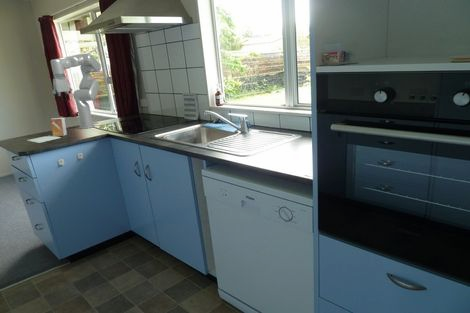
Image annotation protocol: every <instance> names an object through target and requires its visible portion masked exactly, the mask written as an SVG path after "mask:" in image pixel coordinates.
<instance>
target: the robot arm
mask: <svg viewBox="0 0 470 313" xmlns="http://www.w3.org/2000/svg"><path fill="white" fill-rule="evenodd" d="M50 66H51V70H52V74H53V79H52V86H53V90H52V94H54V95H55V96H57V100H58V102H60V103H61V102H63V99H62V95H61V93H65V98H66V100H67V101H70V99H71V97H70V94H71V93H72V92H73V94H72V96H73V99H74V101H75V105H76V109H77V113H78V117H79V119H78V120H79V123H80V126H79V127H78V128H79V129H84V130H85V129H92V128H95V127H96V124H98V123H99V121H98V120H96V121H94V120H93V117H92V112H91V107H90V104H89V102H90V101H91V102H92V101H95V99H96V98H97V95H98V93H99V91H100V84H99V81H98V80H96V79H94V78H93V75H91V73H98V72H100V71H101V70H102V66H101V63H100V62H99V61H98V60H97V58H95V56H93V55H92V54H90V53H79V54H74V55H71V56H70V55H69V56H66V57H59V58H55V59H51V60H50ZM79 66H80V72H81V74H82V79H81V80H80V83H79V86H78V88H79V89H75V91H73V89H72V88H71V87H70V84H69V81H68V79H67V74H66V73H65V70H69V69H71V68H76V67H79Z"/></svg>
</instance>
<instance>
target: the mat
mask: <svg viewBox="0 0 470 313" xmlns="http://www.w3.org/2000/svg"><path fill="white" fill-rule="evenodd" d="M61 138H62V136H53V135H44V136H40V137H35V138H32V139H27V140H26V141H27V142H31V143H36V144H41V143H45V142H49V141H52V140H57V139H61Z"/></svg>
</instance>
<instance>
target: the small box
mask: <svg viewBox="0 0 470 313" xmlns="http://www.w3.org/2000/svg"><path fill="white" fill-rule="evenodd" d="M50 125H51V131H52V136H56V137H64V136H67V134H68V132H67V126H66V118H65V117H57V118H54V117H53V118H50Z"/></svg>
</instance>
